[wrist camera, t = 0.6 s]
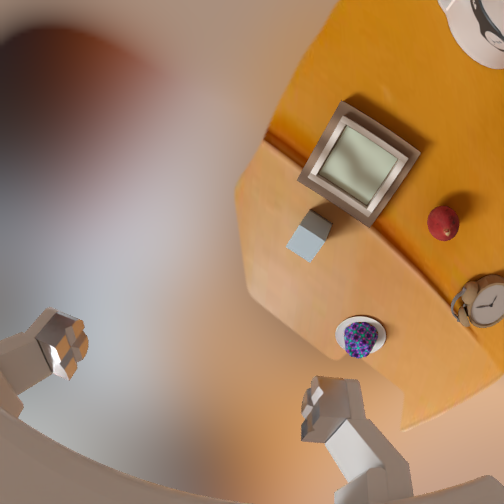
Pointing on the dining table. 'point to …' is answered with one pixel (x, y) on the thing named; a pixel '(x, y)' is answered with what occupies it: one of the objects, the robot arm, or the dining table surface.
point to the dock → (358, 164)
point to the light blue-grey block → (310, 235)
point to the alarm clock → (481, 302)
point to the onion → (443, 223)
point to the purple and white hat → (360, 336)
